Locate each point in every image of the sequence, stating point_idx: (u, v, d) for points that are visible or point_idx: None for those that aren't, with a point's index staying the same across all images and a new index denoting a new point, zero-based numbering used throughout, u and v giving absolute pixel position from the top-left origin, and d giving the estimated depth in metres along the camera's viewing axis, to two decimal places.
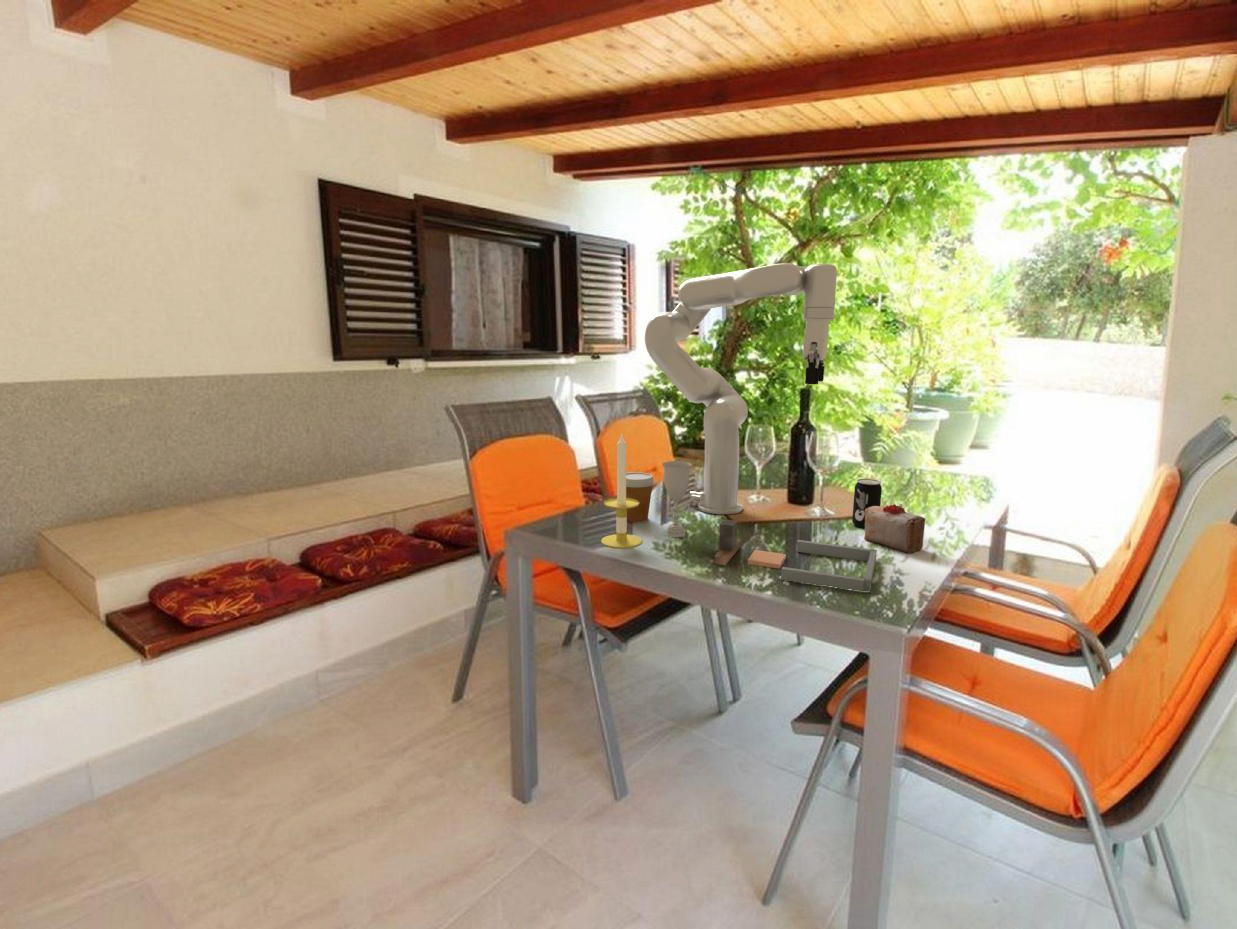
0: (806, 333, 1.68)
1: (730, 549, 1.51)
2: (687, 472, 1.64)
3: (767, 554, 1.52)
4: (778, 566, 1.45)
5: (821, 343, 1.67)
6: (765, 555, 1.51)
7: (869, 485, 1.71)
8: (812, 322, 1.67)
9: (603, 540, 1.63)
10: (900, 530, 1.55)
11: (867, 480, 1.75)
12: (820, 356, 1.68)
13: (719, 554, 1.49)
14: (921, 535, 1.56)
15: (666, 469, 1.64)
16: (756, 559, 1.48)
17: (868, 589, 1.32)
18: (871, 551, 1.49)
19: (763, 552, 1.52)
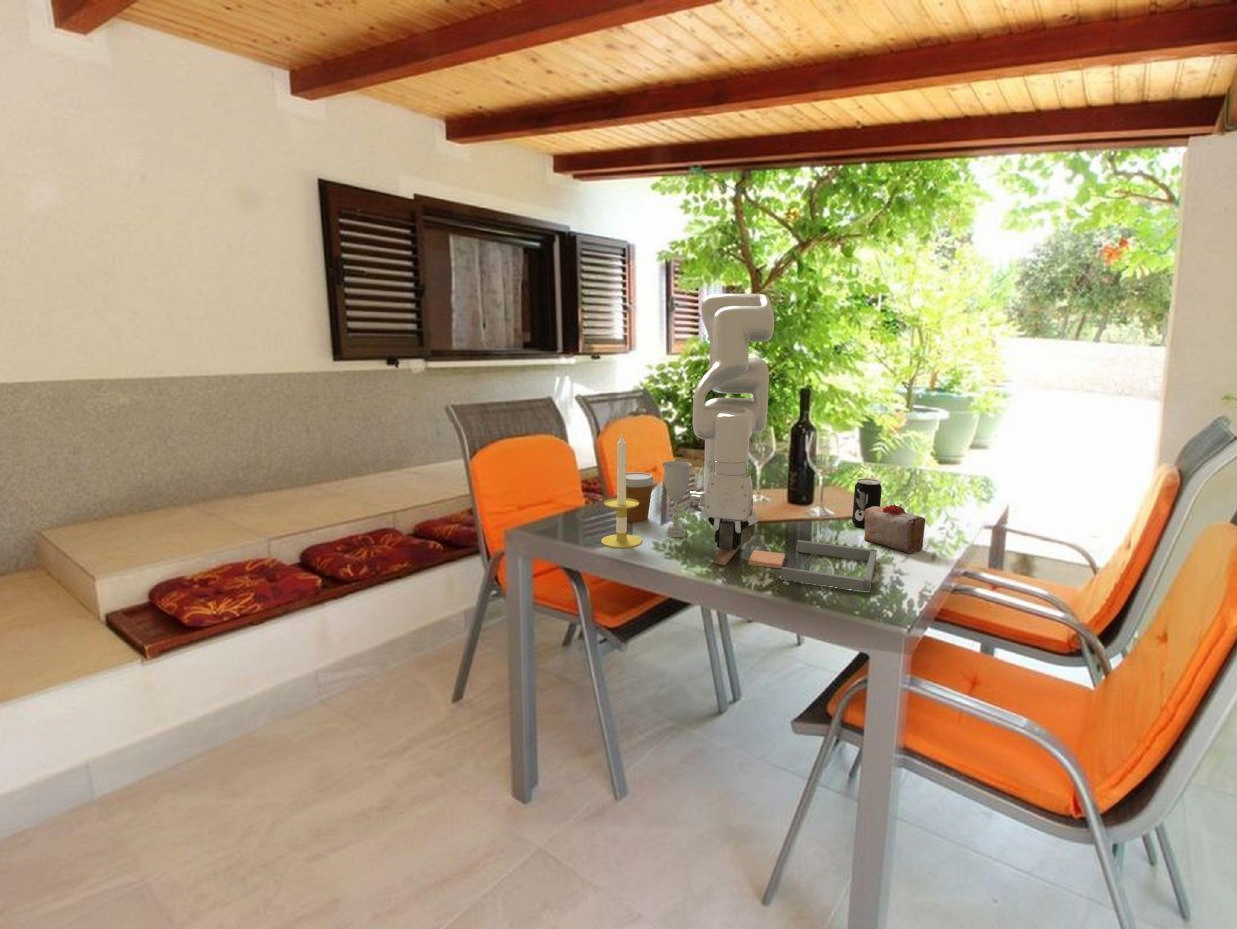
0: (748, 492, 1.46)
1: (730, 548, 1.51)
2: (687, 472, 1.64)
3: (766, 553, 1.52)
4: (779, 566, 1.46)
5: None
6: (764, 555, 1.51)
7: (869, 485, 1.71)
8: (749, 478, 1.47)
9: (603, 540, 1.63)
10: (900, 530, 1.55)
11: (867, 480, 1.75)
12: None
13: (719, 553, 1.49)
14: (921, 535, 1.56)
15: (666, 469, 1.64)
16: (757, 560, 1.48)
17: (868, 589, 1.32)
18: (871, 551, 1.49)
19: (762, 552, 1.52)
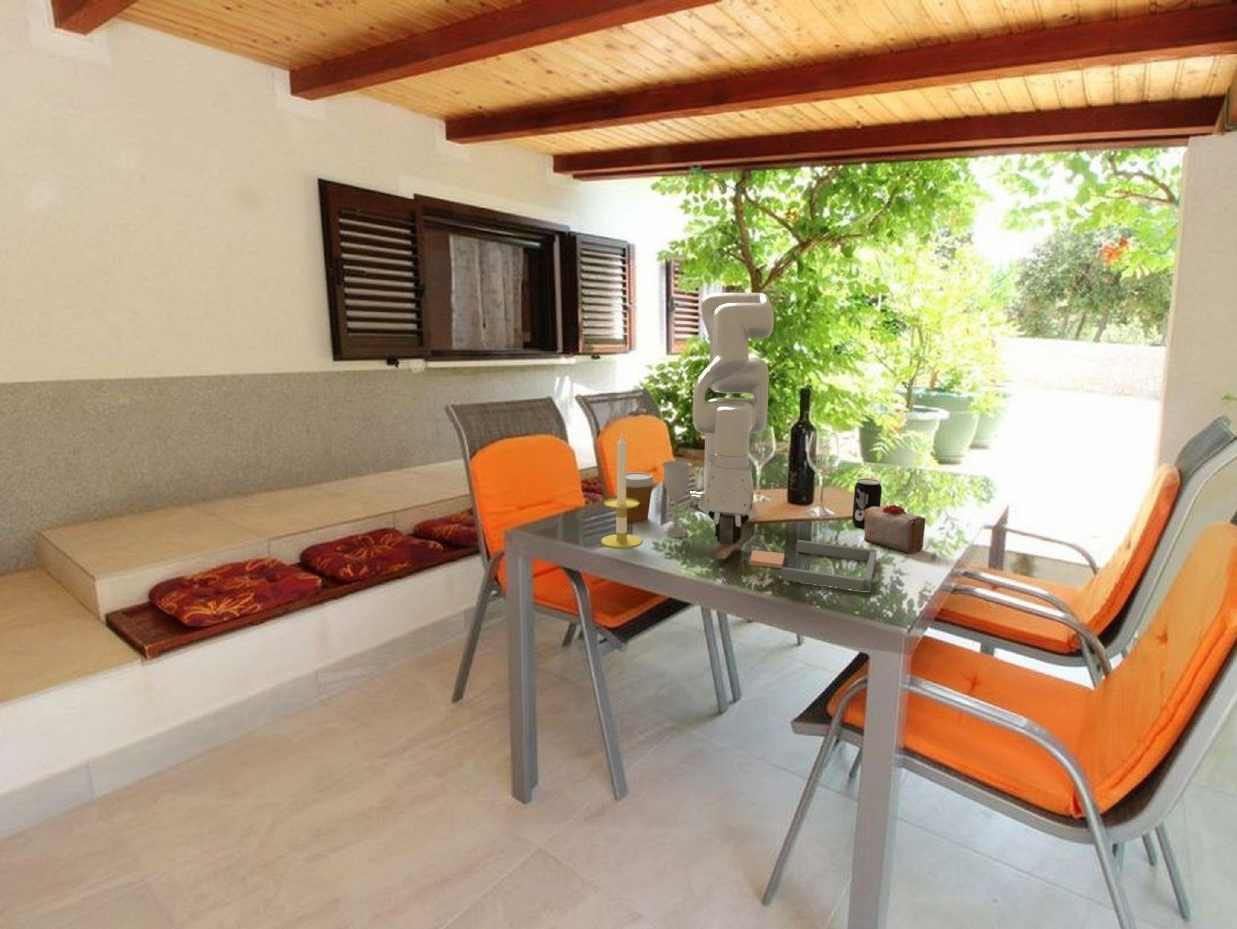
0: (748, 485, 1.46)
1: (730, 542, 1.50)
2: (687, 472, 1.64)
3: (766, 553, 1.52)
4: (780, 566, 1.46)
5: None
6: (764, 555, 1.50)
7: (869, 485, 1.71)
8: (750, 472, 1.47)
9: (603, 540, 1.63)
10: (901, 530, 1.54)
11: (867, 480, 1.75)
12: None
13: (719, 547, 1.48)
14: (921, 535, 1.56)
15: (666, 469, 1.64)
16: (757, 560, 1.48)
17: (868, 589, 1.32)
18: (871, 551, 1.49)
19: (762, 552, 1.52)
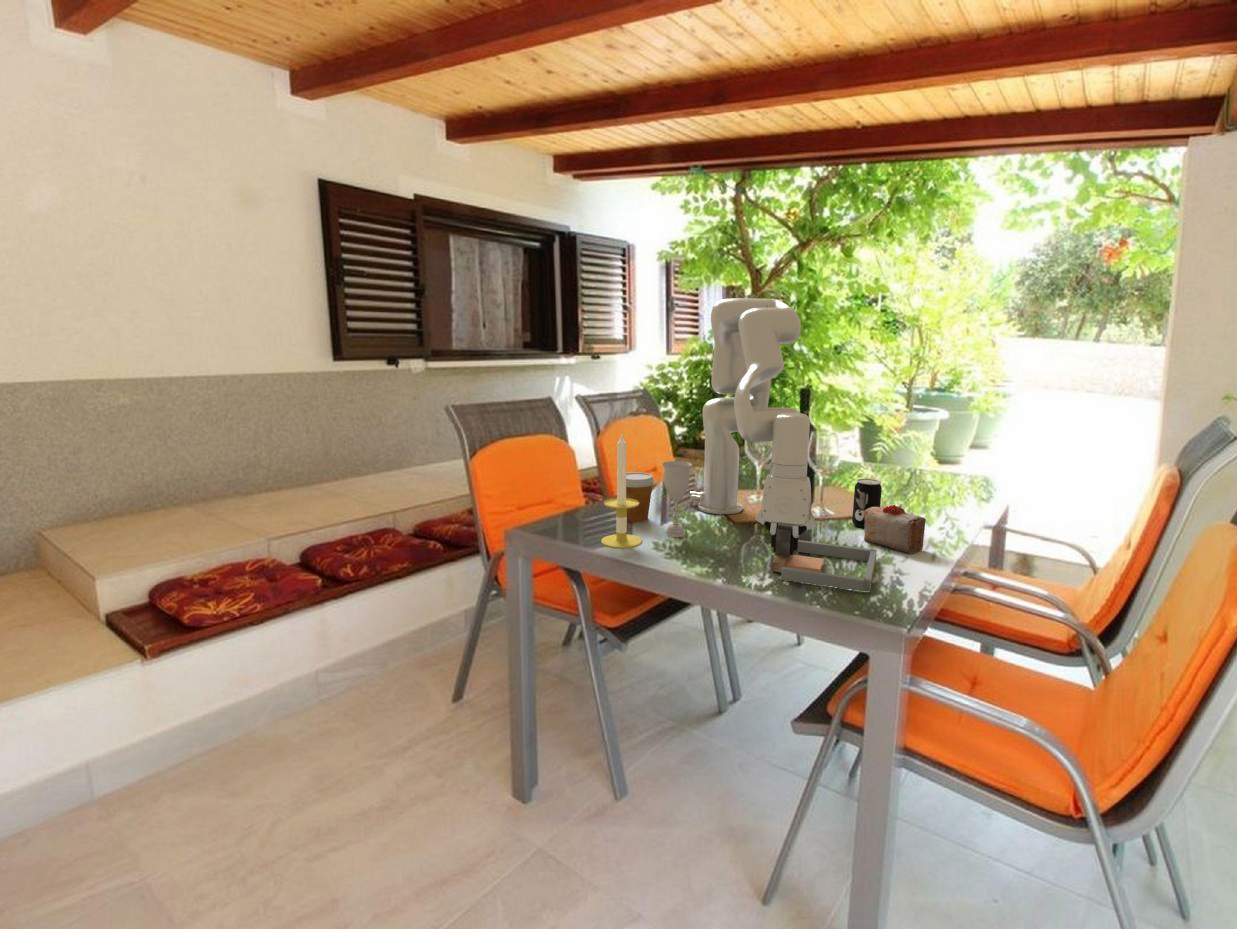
0: (808, 495, 1.41)
1: (787, 555, 1.46)
2: (687, 472, 1.64)
3: (805, 558, 1.48)
4: (818, 571, 1.42)
5: None
6: (802, 560, 1.47)
7: (869, 485, 1.71)
8: (809, 482, 1.42)
9: (603, 540, 1.63)
10: (901, 530, 1.54)
11: (867, 480, 1.75)
12: None
13: (776, 560, 1.44)
14: (921, 535, 1.56)
15: (666, 469, 1.64)
16: (794, 564, 1.44)
17: (868, 589, 1.32)
18: (871, 551, 1.49)
19: (800, 557, 1.49)
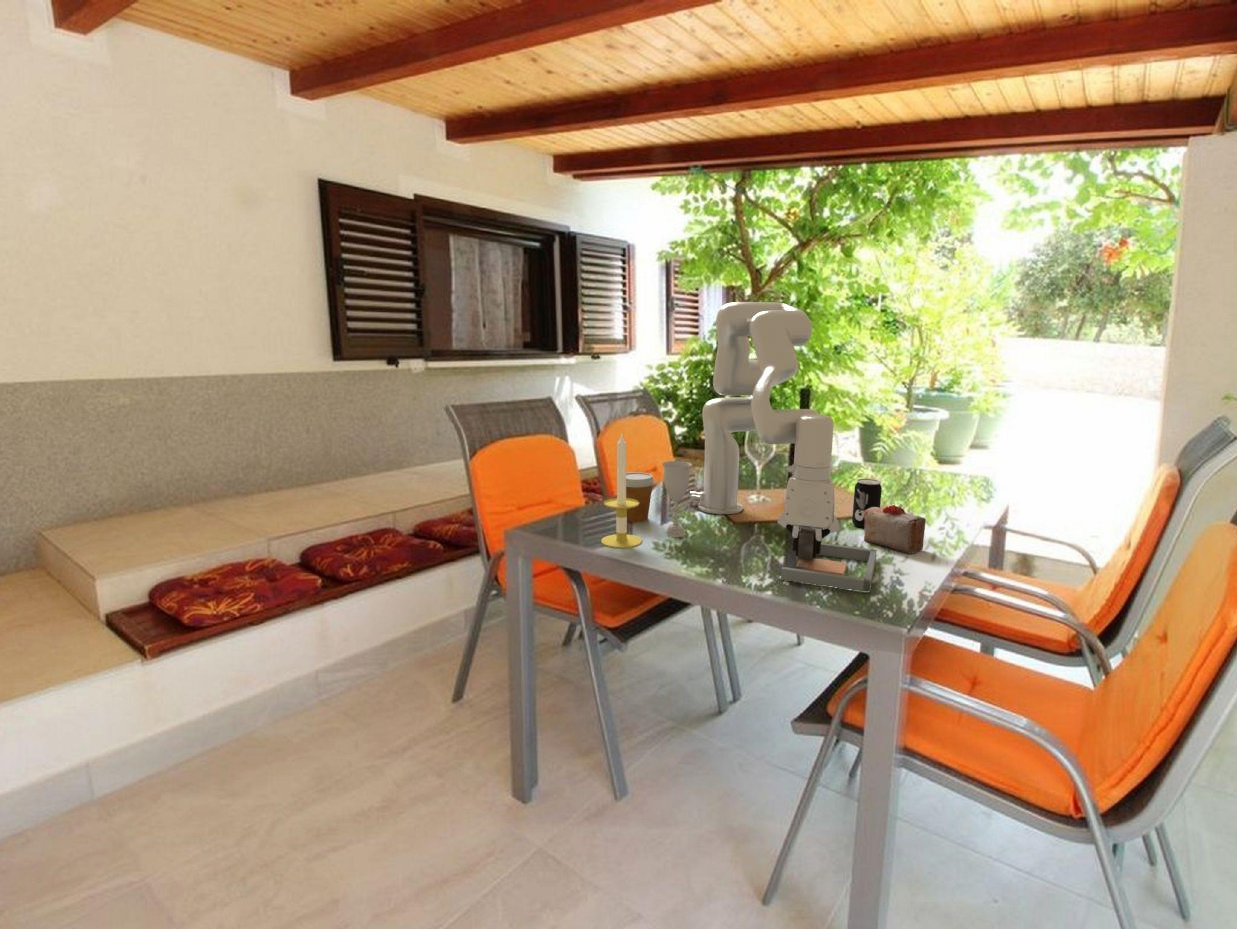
0: (832, 498, 1.39)
1: (810, 558, 1.44)
2: (687, 472, 1.64)
3: (827, 562, 1.46)
4: None
5: None
6: (825, 564, 1.45)
7: (869, 485, 1.71)
8: (832, 484, 1.40)
9: (603, 540, 1.63)
10: (901, 531, 1.54)
11: (867, 480, 1.75)
12: None
13: (800, 564, 1.42)
14: (921, 536, 1.56)
15: (666, 469, 1.64)
16: (817, 568, 1.43)
17: (868, 589, 1.32)
18: (871, 551, 1.49)
19: (823, 561, 1.47)
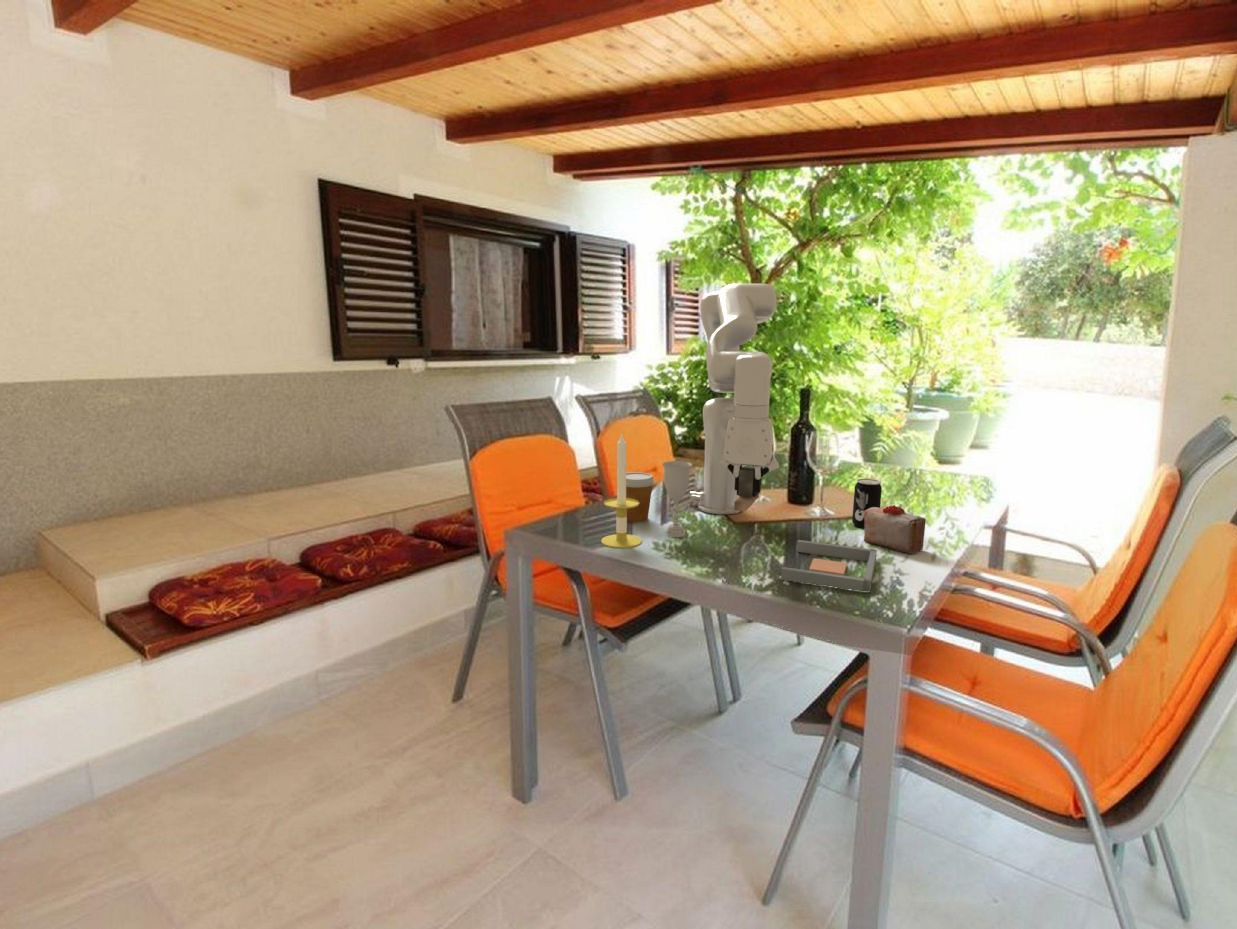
0: (769, 436, 1.42)
1: (750, 495, 1.47)
2: (687, 472, 1.64)
3: (827, 562, 1.46)
4: None
5: None
6: (825, 564, 1.45)
7: (869, 485, 1.71)
8: (770, 422, 1.43)
9: (603, 540, 1.63)
10: (902, 531, 1.54)
11: (867, 480, 1.75)
12: None
13: (739, 500, 1.45)
14: (922, 536, 1.56)
15: (666, 469, 1.64)
16: (817, 568, 1.43)
17: (868, 589, 1.32)
18: (871, 551, 1.49)
19: (823, 561, 1.47)
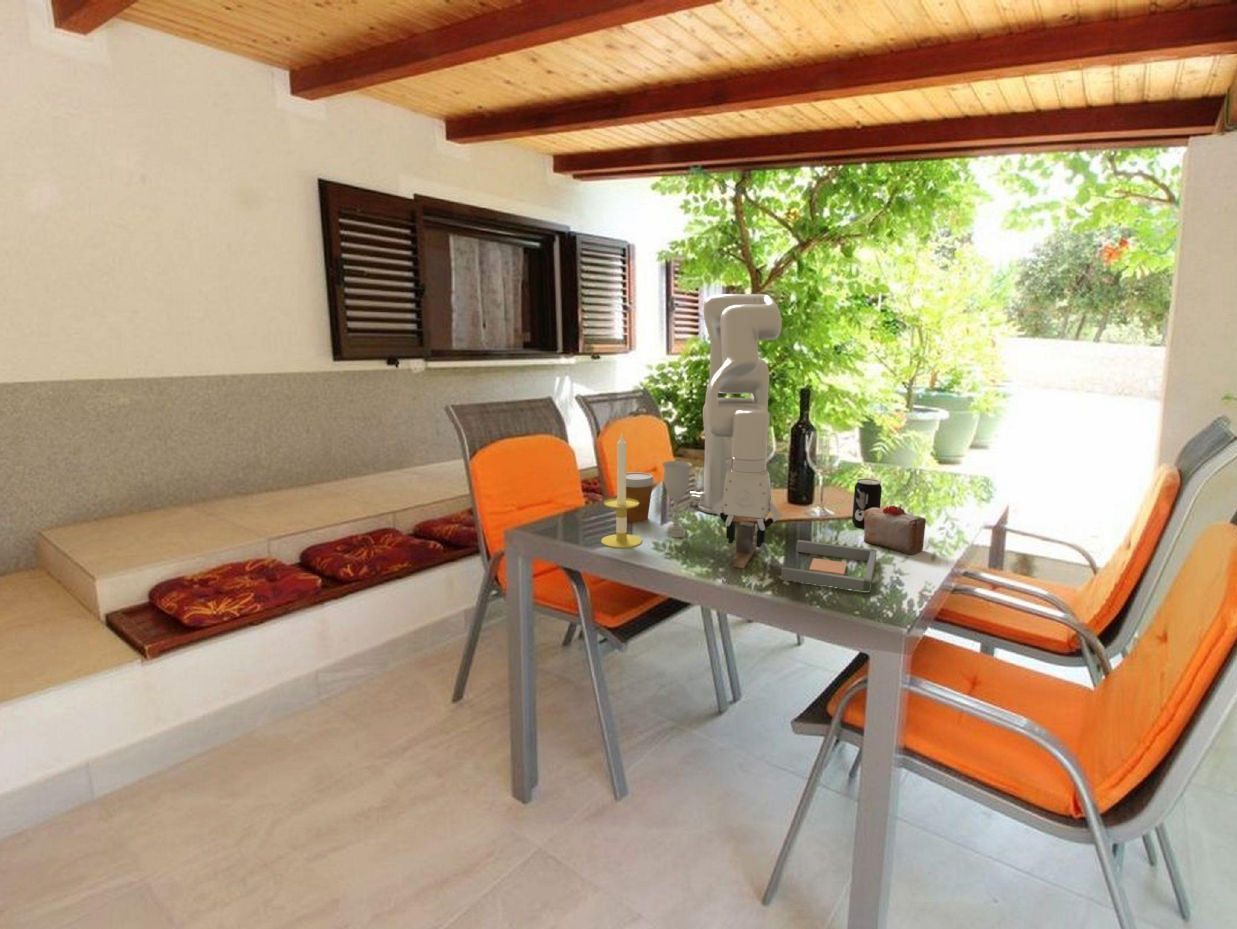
0: (767, 489, 1.45)
1: (748, 551, 1.49)
2: (687, 472, 1.64)
3: (827, 562, 1.46)
4: None
5: None
6: (825, 564, 1.45)
7: (869, 485, 1.71)
8: (768, 476, 1.45)
9: (603, 540, 1.63)
10: (902, 531, 1.54)
11: (867, 480, 1.75)
12: None
13: (737, 557, 1.47)
14: (922, 536, 1.56)
15: (666, 469, 1.64)
16: (818, 568, 1.43)
17: (868, 589, 1.32)
18: (871, 551, 1.49)
19: (823, 561, 1.47)
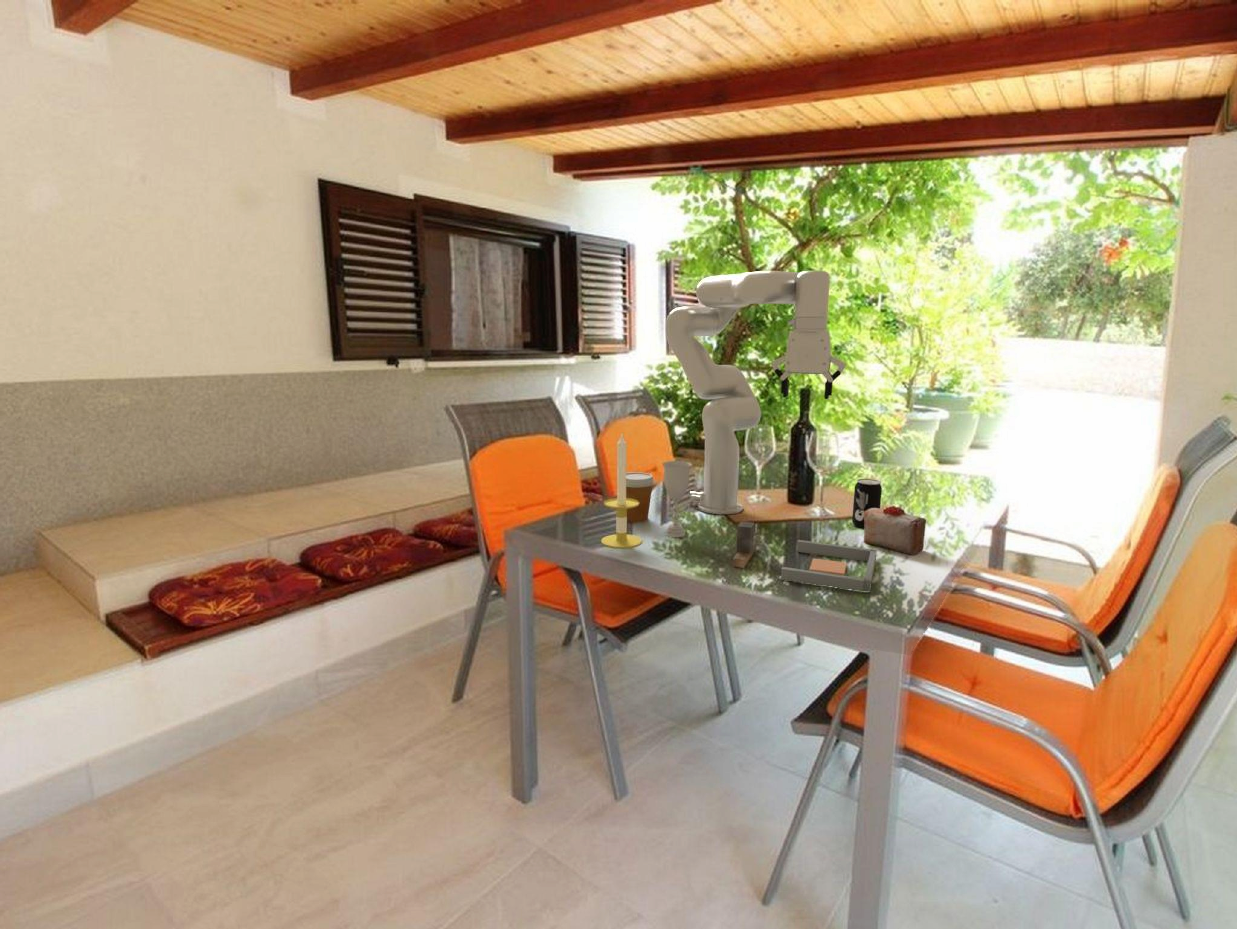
0: (828, 345, 1.56)
1: (748, 551, 1.49)
2: (687, 472, 1.64)
3: (827, 562, 1.46)
4: None
5: None
6: (825, 564, 1.45)
7: (869, 485, 1.71)
8: (829, 333, 1.56)
9: (603, 540, 1.63)
10: (903, 532, 1.53)
11: (867, 480, 1.75)
12: None
13: (737, 556, 1.47)
14: (922, 536, 1.55)
15: (666, 469, 1.64)
16: (818, 568, 1.43)
17: (868, 589, 1.32)
18: (871, 551, 1.49)
19: (822, 561, 1.47)
